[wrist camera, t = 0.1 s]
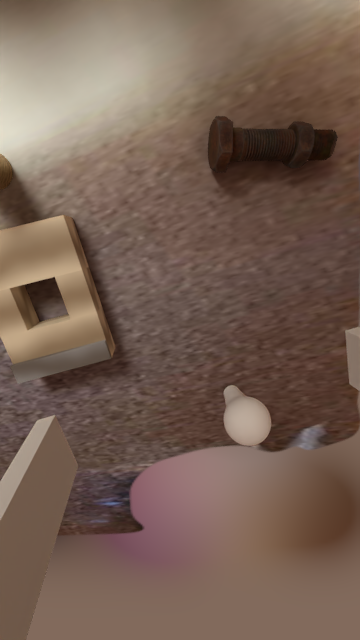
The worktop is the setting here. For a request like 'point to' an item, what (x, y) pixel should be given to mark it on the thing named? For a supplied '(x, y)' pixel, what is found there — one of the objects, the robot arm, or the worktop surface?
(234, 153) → the bolt
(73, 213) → the worktop surface
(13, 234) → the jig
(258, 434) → the lightbulb
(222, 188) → the worktop surface
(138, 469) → the worktop surface
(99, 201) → the worktop surface
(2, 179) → the brass cylinder
